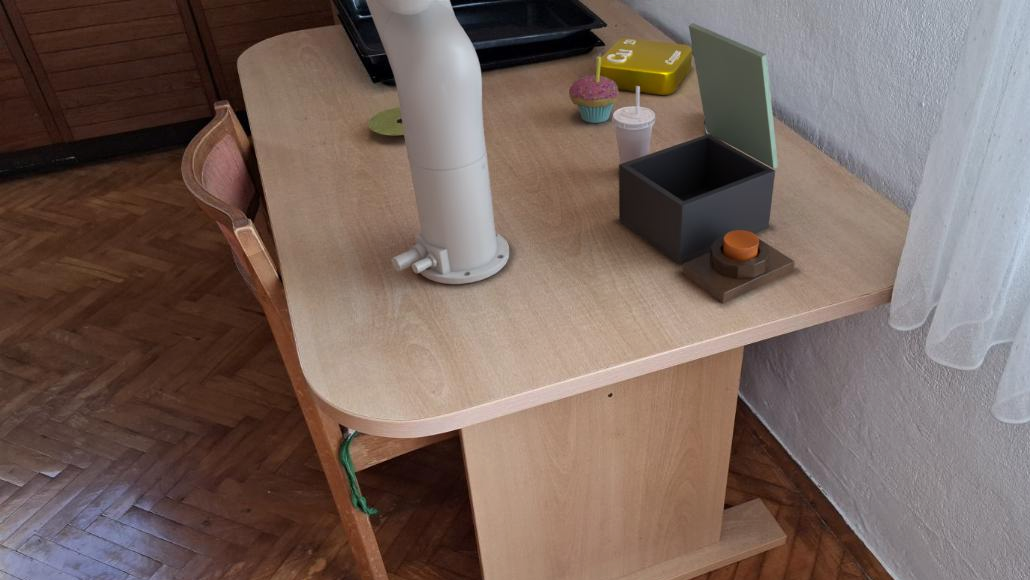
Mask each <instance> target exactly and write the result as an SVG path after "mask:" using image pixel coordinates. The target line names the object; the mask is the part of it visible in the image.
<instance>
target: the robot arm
mask: <svg viewBox="0 0 1030 580" xmlns="http://www.w3.org/2000/svg"><path fill="white" fill-rule="evenodd" d="M365 2H366V6H367V7H368V10H369V13H370V16H371V18H372V21H373V23H374V26H375V28H376V31H377V33H378V35H379V38H380V42H381V43H382V46H383V49H384V52H385V54H386V56H387V59H388V63H389V65H390V68H391V71H392V74H393V78H394V82H395V86H396V90H397V91H396V92H397V96H398V101H399V102H398V103H399V107H400V110H401V117H402V124H403V131H404V135H403V136H404V142H405V148H406V154H407V158H408V163H409V168H410V169H409V170H410V174H411V180H412V186H413V192H414V198H415V202H416V209H417V214H418V219H419V226H420V233H418V234H416V235H414V241H415V244H413V245H412V246H411V247H410V249H409V250H408V251H405V252H402V253H400V254H398V255H396V256H394V257H392V258H391V259H390V260H391V261H390V262H391V265H392V267H393V269H394V270H395V271H396V272H401V271H403V270H406V269H407V268H410V267H411V269H412V270H413V272H414V273H415V274H421V276H423V277H424V278H426V279H428V280H431V281H433V282H435V283H441V284H446V285H448V284H449V285H464V284H472V283H476V282H480V281H482V280H486V279H488V278H490V277H491V276H493V275H495V274H497V273H498V272H499V271H501V270H502V269H503V268H504V267H505V266H506V265H507V263H508V261H509V260H510V259H509V258H510V247H509V243H508V241H507V240H506V238H505V237H504V236H503V235H501V234H500V233H498V232H497V231H496V226H495V217H494V208H493V207H494V206H493V197H492V190H491V180H490V172H489V171H490V170H489V163H488V162H489V161H488V154H487V148H486V147H487V145H486V138H485V127H484V116H483V77H482V69H481V64H480V61H479V56H478V54H477V52H476V49H475V47H474V45H473V42H472V41H471V39H470V37H469V36H468V34H467V33H466V31H465V30H464V28H463V26H462V25H461V23H460V22H459V20H458V19H457V17H456V15H455V11H454V9H453V6H452V3H451V0H365Z"/></svg>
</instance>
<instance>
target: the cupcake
mask: <svg viewBox="0 0 1030 580" xmlns="http://www.w3.org/2000/svg"><path fill="white" fill-rule="evenodd" d="M601 57H602V56H601V52H599V53H598V56H597V57H596V66H595V67H596V68H595V74H588V75H584V76H581V77H580V78H579V79H577V80H575V81H574V82H573V83H572V84H571V86H570V87H569V89H568V95H569V98H570V100H571V102H572V103H573V104H574V105H576V106H577V108H578V110H579V113H580V116H581V119H582V120H583V121H584V122H586V123H590V124H591V123H592V124H600V123H604V122H606V121H607V120H609V118H610V115H611V112H612V109H613V107H614V104H615V102H616V101H617V100H618V99H619V96H620V92H619V90H618V87H617V86H618V85H617V84H616V83H615V82H614V81H613V80H610V79H609V78H607V77H602V76H601V77H600V65H601Z"/></svg>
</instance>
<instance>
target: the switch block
mask: <svg viewBox="0 0 1030 580" xmlns="http://www.w3.org/2000/svg"><path fill="white" fill-rule="evenodd" d="M723 241H724V236H723V237H721V238H718V239H716V240H715V242H714V243H713V244H712V246H711V249H710V253H707V254H705V255H702V256H700V257H698V258H695V259H693V260H690V261H688V262H686V263H683V264H682V275H684V277H686V278H688V279H689V280H690V281H691V282H693V283H694V284H696V285H697V286H699V288H701V289H703V290H704V291H705V292H707V293H708V294H709V295H711V296H712V297H713V298H715V299H716V300H717V301H719V302H720V303H721V304H725V303H727V302H730V301H732V300H734V299H736V298H739V297H741V296H743V295H745V294H747V293H750V292H752V291H754V290H756V289H758V288H761V287H762V286H764V285H767V284H769V283H771V282H773V281H776V280H778V279H780V278H782V277H785V276H787V275H790V274H791V273H793V272H794V271H795V264H796V261H795V260H794V259H792V258H790V257H789V256H787V255H785V254H784V253H782V252H781V251H779V250H778V249H776V248H775V247H773V246H771V245H770V244H768V243H767V242H765V241H763V240H762V239H761V238H759V245H758V254H757V256H756V257H755V258H753V259H751V260H743V261H738V260H734V259H730V258H728V257H726V256H725V255H724V254H723Z"/></svg>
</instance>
